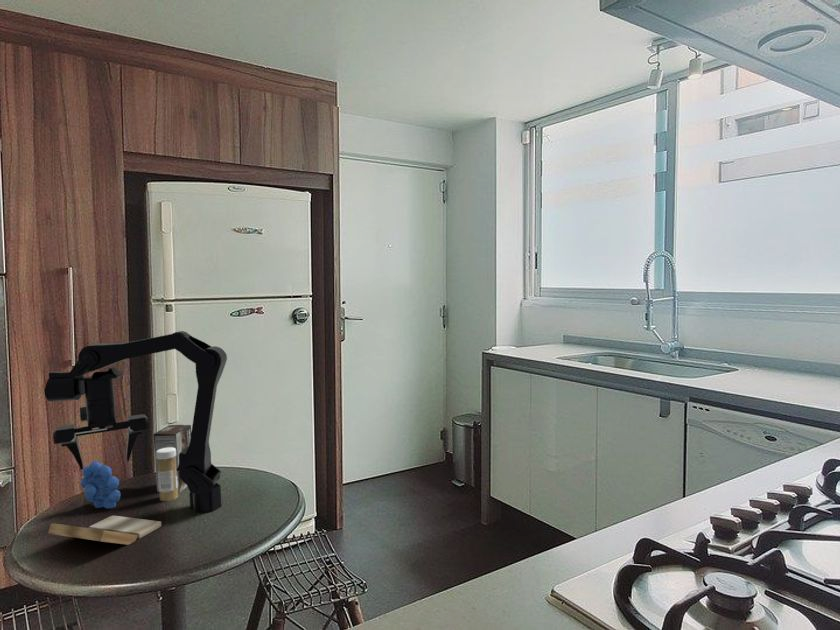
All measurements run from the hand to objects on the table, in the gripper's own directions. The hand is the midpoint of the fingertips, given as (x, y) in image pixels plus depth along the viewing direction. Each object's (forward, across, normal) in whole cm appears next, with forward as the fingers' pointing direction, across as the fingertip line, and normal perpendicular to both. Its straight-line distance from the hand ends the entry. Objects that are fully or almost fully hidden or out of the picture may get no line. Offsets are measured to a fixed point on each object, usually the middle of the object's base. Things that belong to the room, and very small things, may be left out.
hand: (105, 464), depth 126 cm
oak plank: (+11, +4, +15) cm, 19 cm away
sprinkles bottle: (+14, -13, -4) cm, 19 cm away
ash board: (+13, -3, +10) cm, 17 cm away
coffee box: (+14, -16, -15) cm, 26 cm away
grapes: (+13, +2, -8) cm, 16 cm away
